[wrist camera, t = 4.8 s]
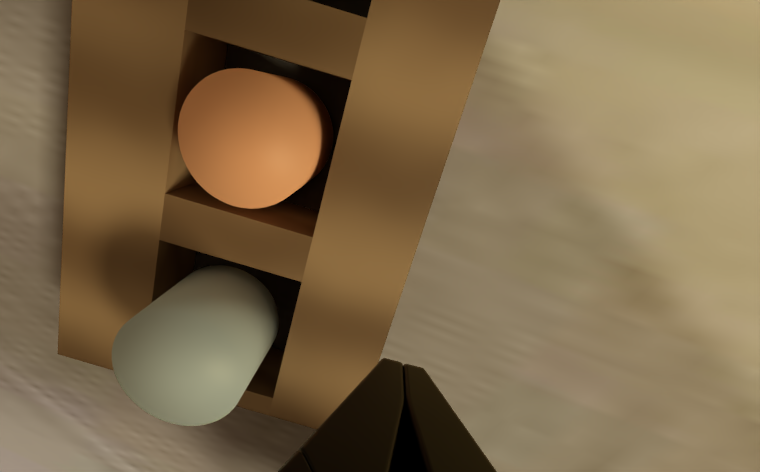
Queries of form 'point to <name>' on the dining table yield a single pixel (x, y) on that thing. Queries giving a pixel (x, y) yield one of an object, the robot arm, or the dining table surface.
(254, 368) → the sage green rounded cylinder
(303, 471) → the robot arm
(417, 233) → the wooden compartment tray
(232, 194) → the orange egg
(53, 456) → the dining table surface
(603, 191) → the dining table surface
